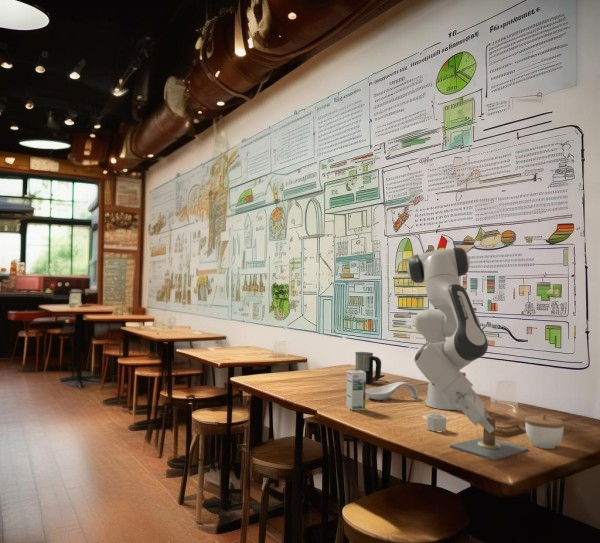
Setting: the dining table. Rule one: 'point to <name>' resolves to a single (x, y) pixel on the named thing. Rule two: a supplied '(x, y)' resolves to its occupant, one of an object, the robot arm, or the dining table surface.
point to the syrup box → (356, 390)
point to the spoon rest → (388, 391)
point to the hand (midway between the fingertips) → (492, 427)
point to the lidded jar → (544, 431)
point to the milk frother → (368, 365)
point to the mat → (473, 448)
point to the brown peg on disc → (489, 438)
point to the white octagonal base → (436, 422)
